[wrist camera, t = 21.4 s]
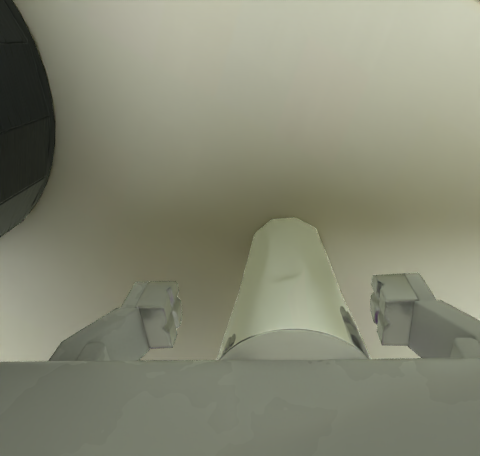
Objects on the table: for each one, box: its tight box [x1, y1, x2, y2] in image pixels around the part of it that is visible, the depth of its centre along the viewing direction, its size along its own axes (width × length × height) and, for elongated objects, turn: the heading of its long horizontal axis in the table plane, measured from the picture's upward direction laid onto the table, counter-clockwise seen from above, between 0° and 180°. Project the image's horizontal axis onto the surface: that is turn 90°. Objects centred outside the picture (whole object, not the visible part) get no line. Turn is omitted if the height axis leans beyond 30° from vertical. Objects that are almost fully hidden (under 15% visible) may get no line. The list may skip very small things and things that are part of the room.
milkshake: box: [217, 217, 371, 360], centre depth 13 cm, size 4×5×10 cm
